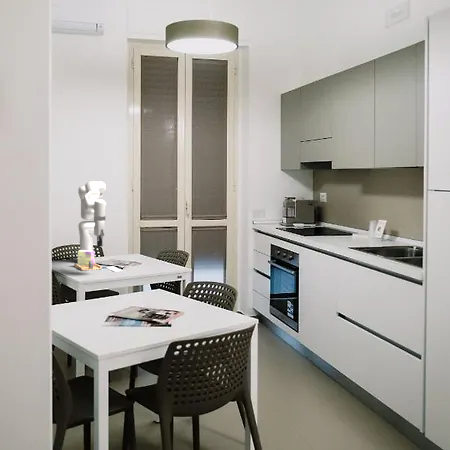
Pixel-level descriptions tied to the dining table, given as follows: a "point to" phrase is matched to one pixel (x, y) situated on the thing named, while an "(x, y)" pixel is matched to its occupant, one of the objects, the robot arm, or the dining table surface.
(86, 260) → the box
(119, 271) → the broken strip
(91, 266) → the lane frame
